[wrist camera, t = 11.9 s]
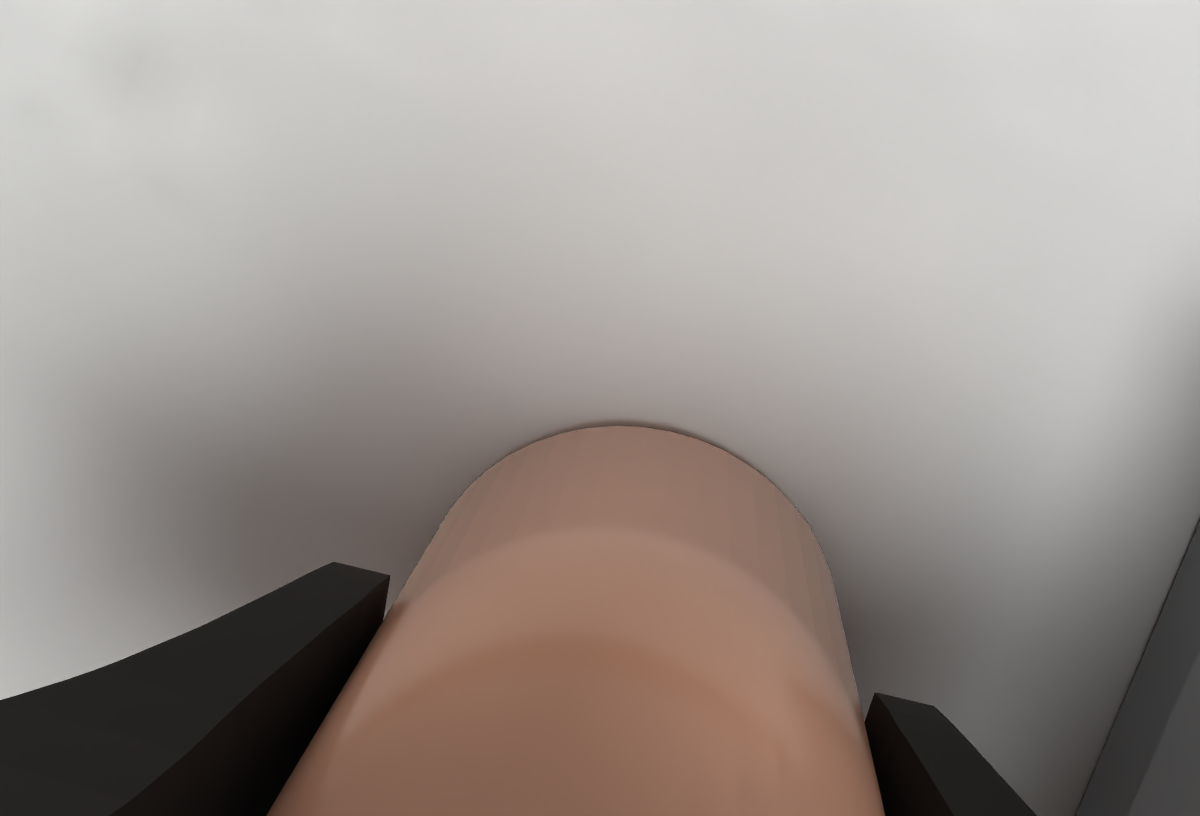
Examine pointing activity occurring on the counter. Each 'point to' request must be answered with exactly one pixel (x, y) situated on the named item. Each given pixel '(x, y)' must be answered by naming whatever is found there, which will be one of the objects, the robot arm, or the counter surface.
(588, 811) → the terracotta cylinder
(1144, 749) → the tote
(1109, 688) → the counter surface
